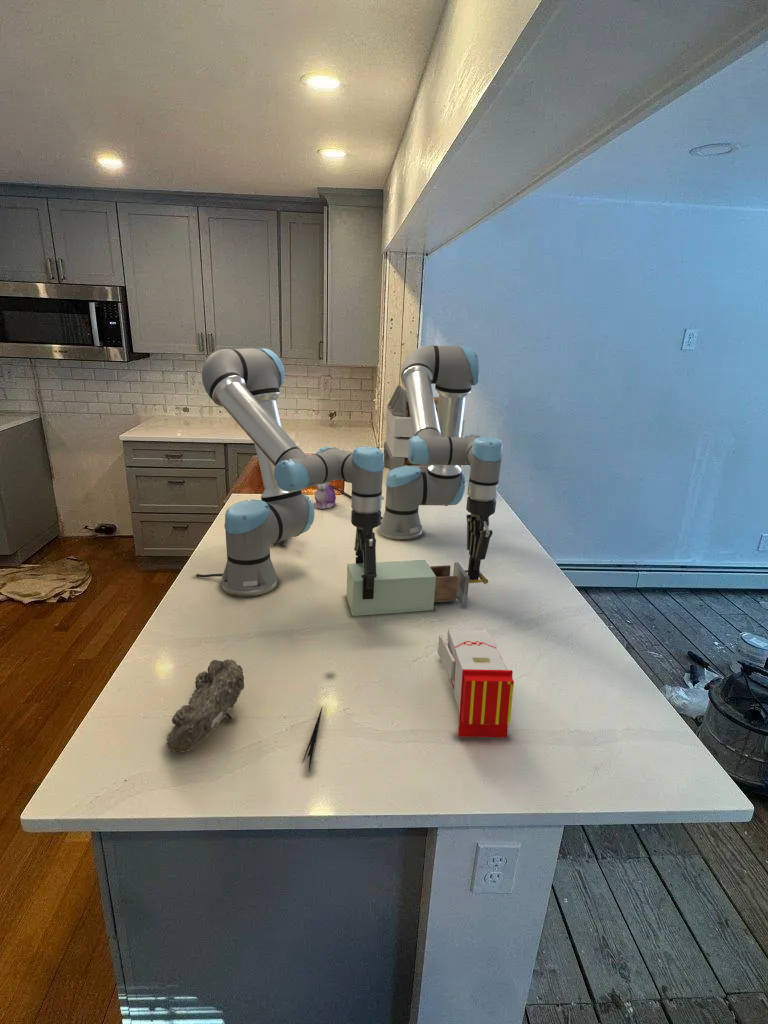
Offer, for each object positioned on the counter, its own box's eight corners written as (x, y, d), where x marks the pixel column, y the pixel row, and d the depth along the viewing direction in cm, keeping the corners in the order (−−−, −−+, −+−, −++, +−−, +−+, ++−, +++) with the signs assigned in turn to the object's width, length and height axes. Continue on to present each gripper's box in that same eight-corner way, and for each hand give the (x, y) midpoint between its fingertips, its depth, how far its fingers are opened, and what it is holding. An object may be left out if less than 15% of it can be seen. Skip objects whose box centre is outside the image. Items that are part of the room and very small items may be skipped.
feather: (331, 679, 122) (336, 673, 122) (307, 777, 96) (313, 769, 95) (324, 675, 122) (329, 669, 121) (298, 772, 95) (304, 764, 95)
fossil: (192, 660, 117) (244, 628, 112) (224, 691, 120) (276, 661, 115) (142, 746, 98) (202, 712, 93) (182, 779, 101) (242, 748, 96)
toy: (488, 613, 130) (523, 677, 101) (484, 667, 133) (517, 744, 104) (435, 612, 130) (455, 676, 101) (432, 666, 133) (451, 743, 103)
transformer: (382, 463, 289) (386, 382, 275) (445, 464, 293) (451, 384, 279) (390, 482, 257) (394, 392, 243) (460, 483, 261) (468, 394, 247)
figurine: (318, 511, 218) (318, 473, 213) (309, 502, 226) (309, 466, 221) (341, 508, 222) (341, 471, 217) (331, 500, 231) (331, 464, 226)
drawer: (475, 586, 162) (478, 561, 159) (487, 601, 154) (490, 575, 151) (385, 592, 156) (387, 566, 154) (393, 608, 148) (394, 581, 145)
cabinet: (422, 591, 160) (425, 559, 156) (433, 610, 150) (436, 576, 147) (346, 596, 155) (347, 563, 152) (352, 616, 146) (353, 581, 142)
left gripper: (391, 525, 132) (387, 609, 140) (372, 494, 153) (369, 568, 161) (359, 526, 130) (357, 611, 138) (344, 495, 151) (343, 570, 159)
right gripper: (505, 505, 142) (494, 589, 150) (486, 489, 154) (477, 567, 162) (477, 506, 141) (468, 590, 149) (460, 489, 153) (452, 568, 161)
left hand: (364, 588), depth 149 cm, fingers closed on cabinet, 10 cm apart
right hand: (472, 578), depth 156 cm, fingers closed
